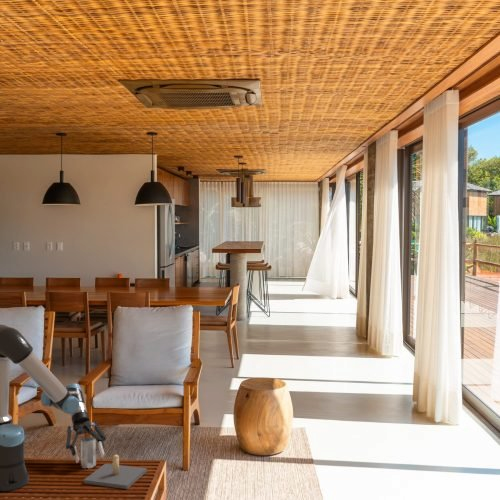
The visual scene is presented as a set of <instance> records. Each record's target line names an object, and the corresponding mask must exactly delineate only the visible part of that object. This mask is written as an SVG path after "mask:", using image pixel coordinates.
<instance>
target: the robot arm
mask: <svg viewBox="0 0 500 500" xmlns="http://www.w3.org/2000/svg"><path fill="white" fill-rule="evenodd" d="M11 362H12V363H13V364H14V365H18V366H19V367H20V368H21V369H22V370H23V371H24V372H25V373H26V374H27V375H28V376H29V377H30V378H31V380H33V382H34V383H35V384H36V385H37V386H38V387H39V388H40V389H41V390H42V392H41V394H40V404H41V406H43V407H48V408H49V407H53V408H55V409H57V410H59V411H61V412H63V413H65V414H68V415H70V417H71V423H72V426H71V425H67V428H66V432H67V435H66V437H67V438H66V443H65V444H66V445H65V449H66V450H69V451H71V456H74V459H75V462H76V464H78V463H79V461H80V457H79V453H78V450H77V446H76V442H77V439H78V438H79V435H83V434H84V435H85V434H88V435H90V437H95V438H96V442H97V443H98V444H97V446H98V449H99V452H100V453H99V454H100V456H101V458H104V457H105V451H104V449H105V444H104V442H106V441H107V435H105V433H104V432H103V431H102V429H101V427H100V426H99V424H98V421H97V420H95V421H94V422H91V421H90V417H89V416H90V415H89V413H88V410H87V407H86V403H85V399H84V395H83V390H82V388H81V386H80V384H79V383H76V382H75V383H69V384H68V385H66V386H64V385H63V383H62V382H61V381H60V379H58V378H57V377H56V375H54V373H52V371H51V370H50V369H49V368H48V367H47V365H45V363H44V362H43V360H41V359H40V358H39V357H38V356H37V355H36V353H35V352H34V347H33V346H32V345H31V344H30V343H29V342H28V340H27V339H26V338H25V336H24V335H22V332H20V331H19V330H18V329H16V328H15V327H12V326H11V327H10V326H8V325H5V324H0V492H9V491H14V490H18V489H20V488H21V489H22V488H23V487H25V486H26V485H27V484H28V483H29V482H30V476H29V473H28V470H27V467H26V464H25V431H24V428H23V426H21V425H19V424H17V423H16V424H15V423H13V417H12V415H11V414H9V409H10V406H9V405H10V404H9V402H10V400H9V399H10V372H11V371H10V369H11V367H10V366H11ZM94 430H95V431H94ZM73 431H75V432H76V433H75V435H74V437H73V440H72V442H71V438H72V432H73Z"/></svg>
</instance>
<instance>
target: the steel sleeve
mask: <svg viewBox="0 0 500 500" xmlns="http://www.w3.org/2000/svg"><path fill="white" fill-rule="evenodd" d="M81 466H82V467H81ZM96 466H97V440H96V438H95V437H92V436H87V437H82V438H81V440H80V467H81V468H82V469H86V468H88V469H92V468H94V467H96Z"/></svg>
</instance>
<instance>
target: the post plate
mask: <svg viewBox="0 0 500 500" xmlns="http://www.w3.org/2000/svg"><path fill="white" fill-rule="evenodd" d="M147 470H148V469H147V467H139V466H129V465H121V464H120V456H119V454H114V455H113V456H112V463H104V464H103V465H101V466H100V467H99V468H97V469H96V470H94V472H92V473H91V474H90V475H88V476H87V477H85V478H84V479H83V484H85V485H93V486H99V487H107V488H109V487H110V488H117V489H122V490H123V489H125V490H128V489H129V488H130V487H131V486H132V485H133V484H135V482H137V481H138V480H139V479H141V477H142V476H143V475H144V474H146V473H147Z"/></svg>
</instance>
